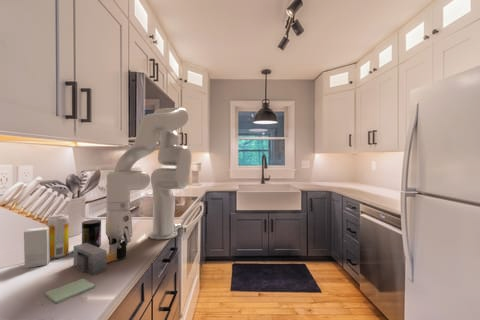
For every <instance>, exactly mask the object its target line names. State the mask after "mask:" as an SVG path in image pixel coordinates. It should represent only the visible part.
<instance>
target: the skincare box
mask: <svg viewBox="0 0 480 320" xmlns="http://www.w3.org/2000/svg"><path fill="white" fill-rule="evenodd" d="M49 231H50V229H49V227H48V226H43V227H33V228H27V229H26V230H25V231H24V232H23V247H24V248H23V249H24V250H23V253H24V255H23V257H24V268H25V269H29V268H35V267H40V266H46V265H48V264H49V263H50V262H51V258H50V233H49Z"/></svg>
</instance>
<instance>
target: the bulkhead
mask: <svg viewBox="0 0 480 320" xmlns="http://www.w3.org/2000/svg"><path fill="white" fill-rule="evenodd" d="M80 254H84V255H86V256H88V271H87V273H88V274H89V275H91V276H96V275H98V274H101V273H104V272H106V271H107V263H106V254H107V250H106V249H103V248H102V247H96V246H94V245H91V244H89V243H84V244H82V243H80V244H77V245H73V263H72V264H73V265H72V266H74V267H75V268H77V255H80Z"/></svg>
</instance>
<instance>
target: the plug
mask: <svg viewBox="0 0 480 320" xmlns="http://www.w3.org/2000/svg"><path fill="white" fill-rule="evenodd" d="M109 246H110V253H109V252H108V253H107V252H106V264H107V263H110V262H112V261H118V260H117V248H118V243H115V244H112V245H109ZM76 269H77V270H78V271H81V272H82V273H86V272H88V256H86V255H84V254H80V255H77V267H76Z"/></svg>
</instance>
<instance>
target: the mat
mask: <svg viewBox="0 0 480 320" xmlns="http://www.w3.org/2000/svg"><path fill="white" fill-rule="evenodd" d="M94 288H96V285H95V284H94V283H92V282H89V281H88V280H86V279H85V278H81V279H78V280H75V281H73V282H70V283H68V284H67V283H66V284H65V285H61V286H60V287H57V288H54V289H51V290H49V291H46V292H45V293H44V295H45V296H46V295H47V296H48V297H47V296H46V297H47V298H49V299H50V300H51V299H52V300H53V302H54V303H55V304H59V303H61V302H63V301H65V300H68V299H70V298H73V297H75V296H77V295H80V294H83V293H85V292H87V291H89V289H90V290H91V289H94ZM84 291H85V292H84ZM82 292H83V293H82ZM52 300H51V301H52Z"/></svg>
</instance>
